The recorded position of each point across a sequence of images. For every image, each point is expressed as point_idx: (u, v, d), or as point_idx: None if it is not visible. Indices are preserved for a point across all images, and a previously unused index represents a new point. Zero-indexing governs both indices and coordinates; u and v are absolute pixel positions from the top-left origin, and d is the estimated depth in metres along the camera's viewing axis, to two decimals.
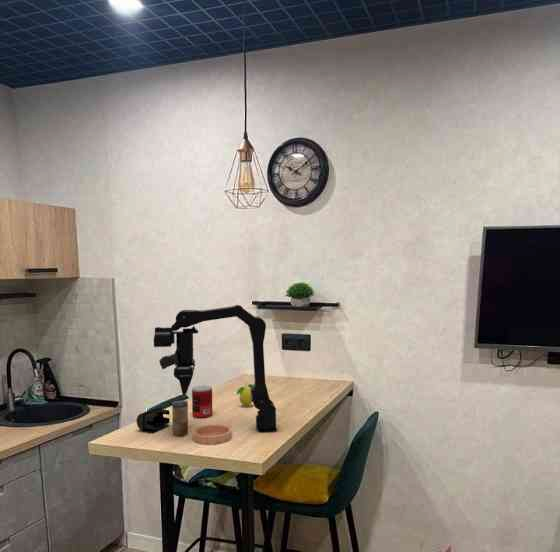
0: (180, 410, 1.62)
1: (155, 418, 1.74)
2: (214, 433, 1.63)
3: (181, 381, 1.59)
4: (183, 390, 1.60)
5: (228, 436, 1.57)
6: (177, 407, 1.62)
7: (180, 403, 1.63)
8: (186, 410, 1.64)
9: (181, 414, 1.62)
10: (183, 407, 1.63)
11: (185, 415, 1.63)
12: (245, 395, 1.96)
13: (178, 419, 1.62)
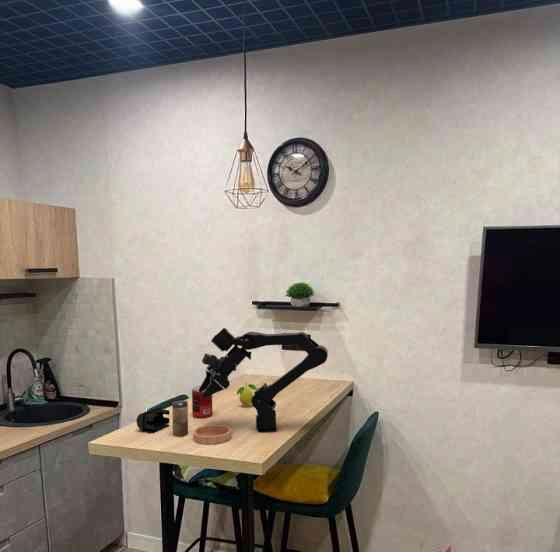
0: (180, 410, 1.62)
1: (155, 418, 1.74)
2: (214, 433, 1.63)
3: (210, 386, 1.61)
4: (205, 393, 1.62)
5: (228, 436, 1.57)
6: (177, 407, 1.62)
7: (180, 403, 1.63)
8: (186, 410, 1.64)
9: (181, 414, 1.62)
10: (183, 407, 1.63)
11: (185, 415, 1.63)
12: (245, 395, 1.96)
13: (178, 419, 1.62)
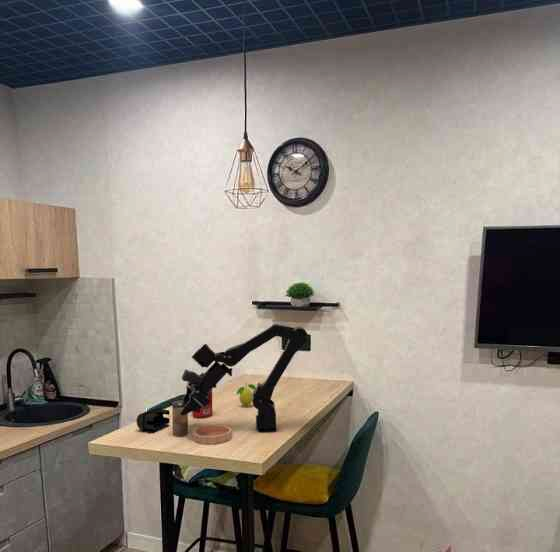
0: (180, 410, 1.62)
1: (155, 418, 1.74)
2: (214, 433, 1.63)
3: (189, 403, 1.59)
4: (184, 411, 1.60)
5: (228, 436, 1.57)
6: (177, 407, 1.62)
7: (180, 403, 1.63)
8: None
9: None
10: (183, 407, 1.63)
11: (185, 415, 1.63)
12: (245, 395, 1.96)
13: (178, 419, 1.62)
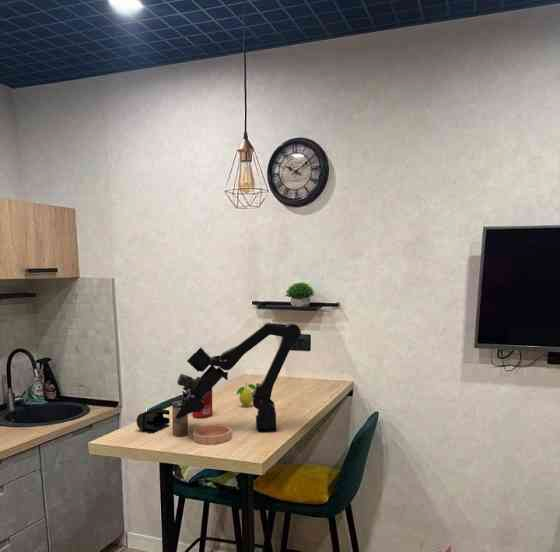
0: None
1: (155, 418, 1.74)
2: (214, 433, 1.63)
3: (184, 406, 1.61)
4: (179, 414, 1.61)
5: (228, 436, 1.57)
6: (177, 407, 1.62)
7: (180, 403, 1.63)
8: None
9: None
10: None
11: (185, 415, 1.63)
12: (245, 395, 1.96)
13: (177, 419, 1.62)
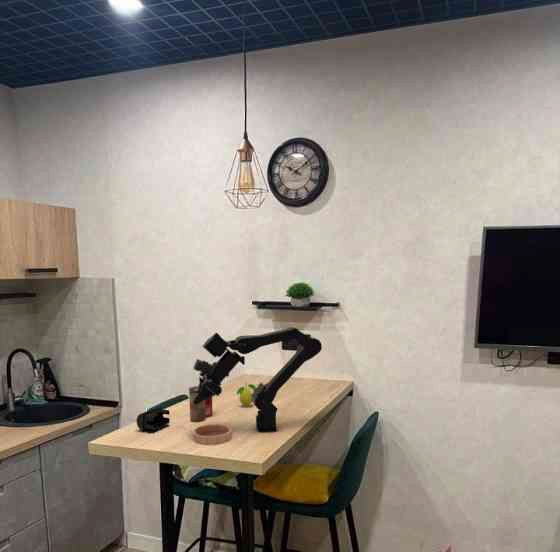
0: None
1: (155, 418, 1.74)
2: (214, 433, 1.63)
3: (202, 391, 1.59)
4: (196, 399, 1.59)
5: (228, 436, 1.57)
6: (194, 392, 1.60)
7: (197, 388, 1.61)
8: None
9: None
10: None
11: (202, 401, 1.61)
12: (245, 395, 1.96)
13: (195, 405, 1.60)
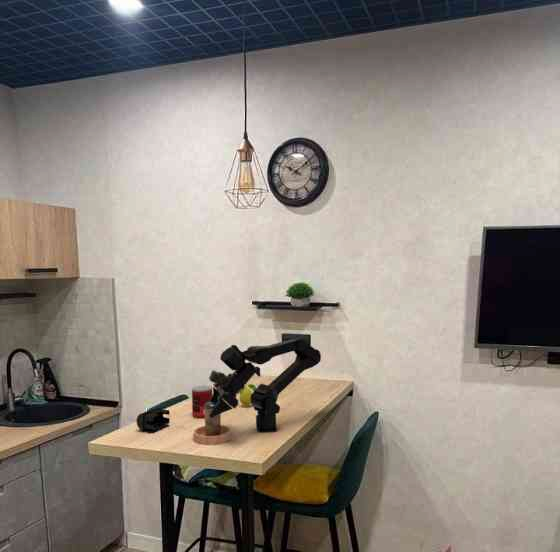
0: None
1: (155, 418, 1.74)
2: None
3: (218, 405, 1.55)
4: (213, 413, 1.55)
5: (228, 436, 1.57)
6: (210, 408, 1.58)
7: (213, 404, 1.59)
8: None
9: None
10: None
11: (218, 417, 1.59)
12: (245, 395, 1.96)
13: (211, 421, 1.58)
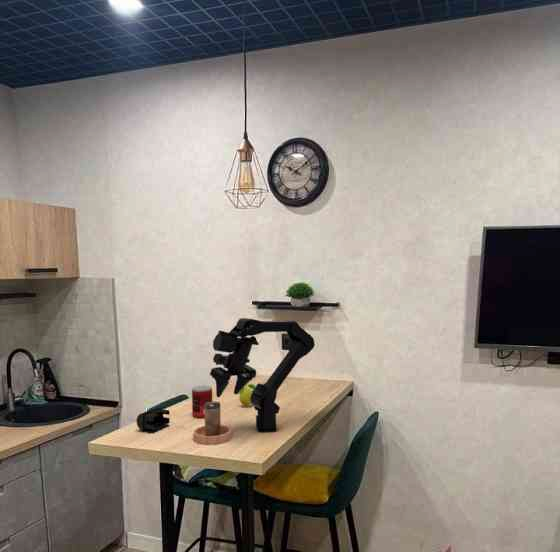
0: (213, 411, 1.58)
1: (155, 418, 1.74)
2: None
3: (217, 383, 1.61)
4: (217, 392, 1.61)
5: (228, 436, 1.57)
6: (210, 408, 1.58)
7: (213, 404, 1.59)
8: (219, 411, 1.59)
9: (214, 415, 1.58)
10: (216, 408, 1.58)
11: (218, 417, 1.59)
12: (245, 395, 1.96)
13: (210, 421, 1.58)
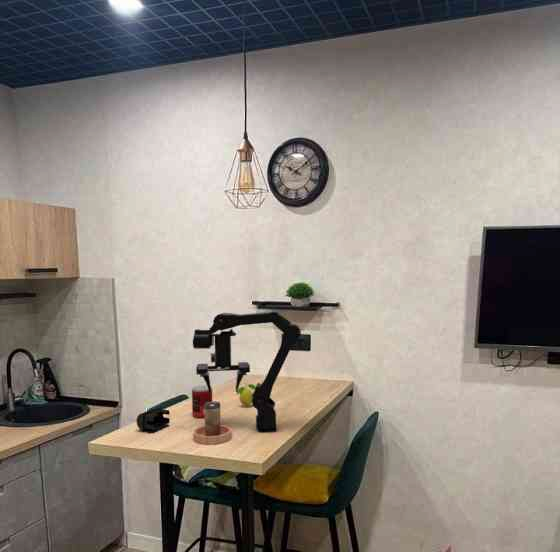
0: (213, 411, 1.58)
1: (155, 418, 1.74)
2: None
3: None
4: None
5: (228, 436, 1.57)
6: (210, 408, 1.58)
7: (213, 404, 1.59)
8: (219, 411, 1.59)
9: (214, 415, 1.58)
10: (216, 408, 1.58)
11: (218, 417, 1.59)
12: (245, 395, 1.96)
13: (210, 421, 1.58)
